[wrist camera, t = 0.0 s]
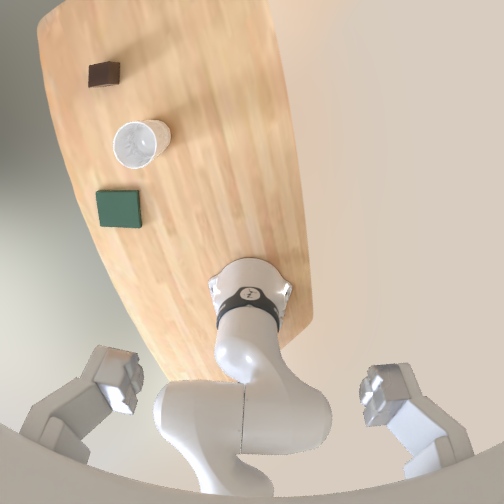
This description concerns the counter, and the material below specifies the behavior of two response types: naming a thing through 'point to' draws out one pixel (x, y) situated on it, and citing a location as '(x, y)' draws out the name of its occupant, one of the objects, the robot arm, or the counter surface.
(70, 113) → the counter surface
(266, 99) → the counter surface
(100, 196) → the flat green block
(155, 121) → the white cup
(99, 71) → the walnut block
